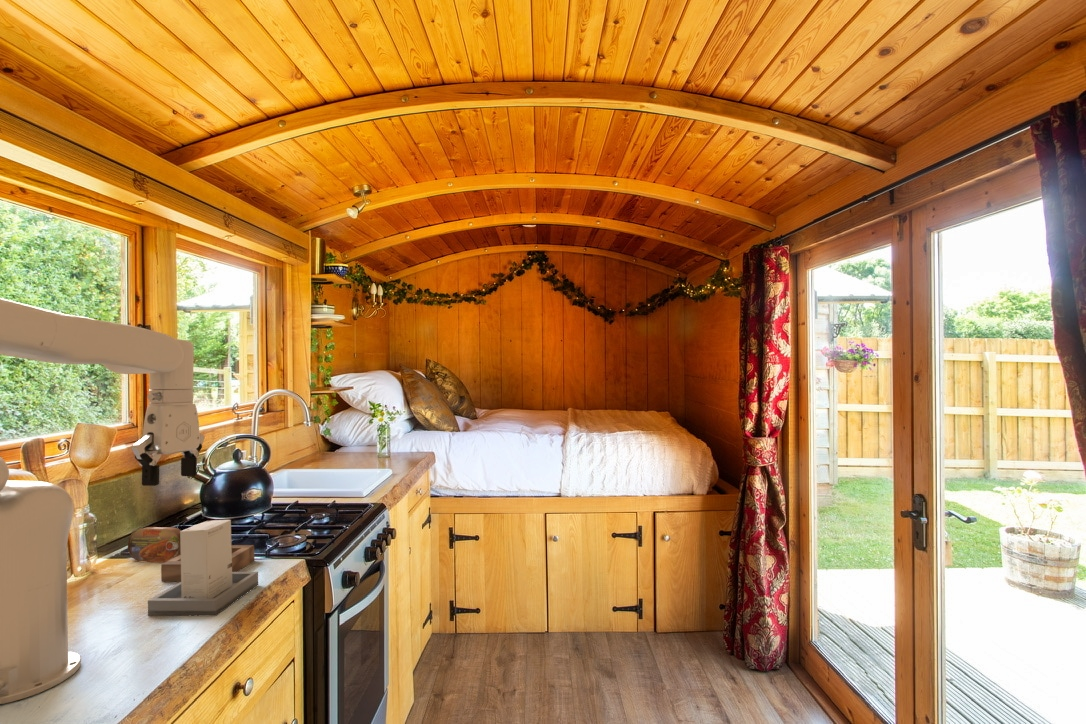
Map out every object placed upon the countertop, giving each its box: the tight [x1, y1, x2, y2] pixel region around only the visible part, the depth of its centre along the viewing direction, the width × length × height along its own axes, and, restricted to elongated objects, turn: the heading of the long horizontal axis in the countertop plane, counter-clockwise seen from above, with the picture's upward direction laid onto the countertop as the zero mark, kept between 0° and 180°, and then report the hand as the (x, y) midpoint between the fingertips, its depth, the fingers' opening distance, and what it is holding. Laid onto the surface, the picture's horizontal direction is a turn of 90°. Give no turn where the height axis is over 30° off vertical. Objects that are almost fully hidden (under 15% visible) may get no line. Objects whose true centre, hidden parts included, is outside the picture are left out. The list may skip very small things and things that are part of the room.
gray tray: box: [147, 571, 259, 617], centre depth 109 cm, size 14×14×3 cm
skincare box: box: [180, 519, 232, 598], centre depth 109 cm, size 8×6×15 cm
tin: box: [127, 526, 182, 563], centre depth 132 cm, size 15×3×8 cm, turn 82°
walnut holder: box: [160, 544, 255, 582], centre depth 124 cm, size 12×14×4 cm
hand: (170, 480), depth 106 cm, fingers open, 9 cm apart
